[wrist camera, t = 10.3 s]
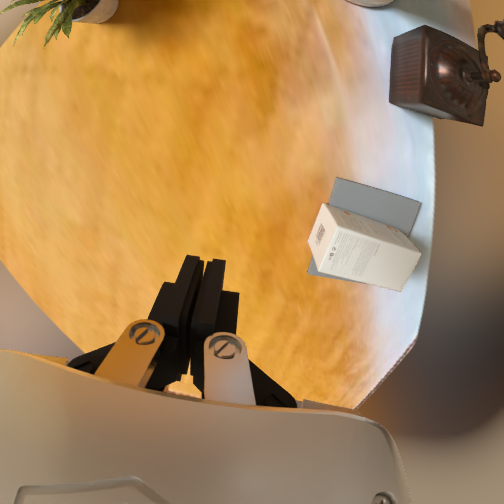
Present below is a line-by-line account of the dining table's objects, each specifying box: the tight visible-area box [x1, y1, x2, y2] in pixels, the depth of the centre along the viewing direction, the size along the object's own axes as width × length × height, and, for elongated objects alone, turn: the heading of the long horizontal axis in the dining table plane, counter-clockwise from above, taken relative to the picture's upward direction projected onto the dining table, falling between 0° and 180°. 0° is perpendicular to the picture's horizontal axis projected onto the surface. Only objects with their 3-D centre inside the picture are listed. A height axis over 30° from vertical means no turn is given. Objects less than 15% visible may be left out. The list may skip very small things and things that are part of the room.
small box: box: [308, 203, 422, 292], centre depth 37 cm, size 8×6×13 cm
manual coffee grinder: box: [389, 20, 504, 126], centre depth 21 cm, size 16×11×18 cm
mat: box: [307, 177, 421, 284], centre depth 41 cm, size 15×14×1 cm
